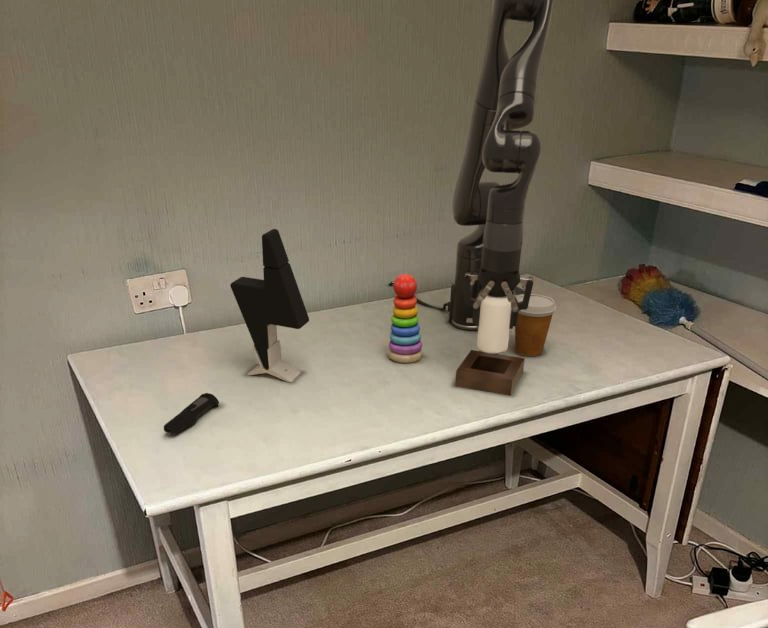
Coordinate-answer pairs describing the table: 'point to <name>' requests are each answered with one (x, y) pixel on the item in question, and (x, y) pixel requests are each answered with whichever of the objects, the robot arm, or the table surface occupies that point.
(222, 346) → the table surface
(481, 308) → the can
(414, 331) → the stacking toy
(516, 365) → the can stand
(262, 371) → the award
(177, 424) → the electric trimmer
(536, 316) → the disposable coffee cup
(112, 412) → the table surface
